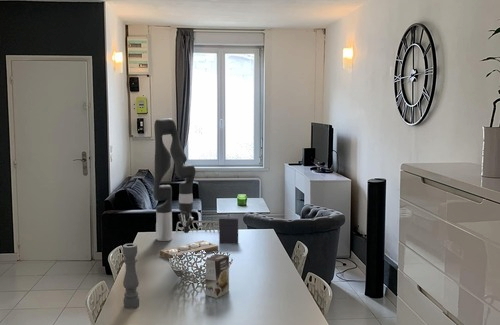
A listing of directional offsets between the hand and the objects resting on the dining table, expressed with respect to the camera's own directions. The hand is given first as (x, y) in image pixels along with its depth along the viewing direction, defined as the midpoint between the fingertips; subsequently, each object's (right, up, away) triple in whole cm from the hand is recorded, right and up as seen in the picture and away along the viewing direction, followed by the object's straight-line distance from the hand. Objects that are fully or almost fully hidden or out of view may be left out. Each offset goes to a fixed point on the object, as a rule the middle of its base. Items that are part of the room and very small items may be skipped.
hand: (186, 232), depth 266 cm
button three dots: (+4, -10, +4) cm, 11 cm away
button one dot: (+9, -10, +9) cm, 16 cm away
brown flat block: (+2, -12, +2) cm, 12 cm away
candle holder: (-13, -20, -69) cm, 73 cm away
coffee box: (+21, -18, -56) cm, 62 cm away
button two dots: (-6, -11, -5) cm, 14 cm away
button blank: (-1, -10, 0) cm, 10 cm away
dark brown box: (+22, -10, +22) cm, 33 cm away
